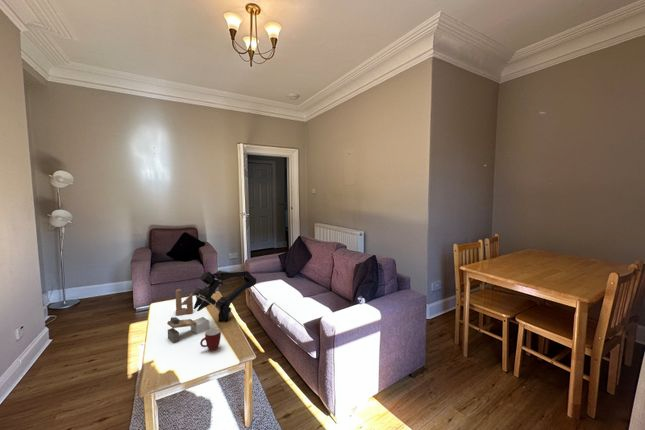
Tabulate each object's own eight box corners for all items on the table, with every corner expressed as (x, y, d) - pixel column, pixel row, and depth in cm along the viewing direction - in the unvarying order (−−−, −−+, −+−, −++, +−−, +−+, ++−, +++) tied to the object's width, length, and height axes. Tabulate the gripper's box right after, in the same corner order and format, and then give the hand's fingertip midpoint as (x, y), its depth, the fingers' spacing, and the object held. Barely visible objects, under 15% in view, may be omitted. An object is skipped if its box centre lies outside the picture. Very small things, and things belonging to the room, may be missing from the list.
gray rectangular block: (203, 325, 176) (202, 316, 176) (209, 328, 171) (209, 320, 171) (167, 338, 160) (167, 329, 159) (173, 343, 155) (173, 334, 154)
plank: (190, 321, 169) (191, 314, 170) (196, 325, 164) (197, 318, 165) (167, 323, 159) (168, 316, 159) (172, 328, 154) (174, 321, 154)
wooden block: (192, 313, 192) (191, 289, 191) (175, 315, 189) (174, 291, 187) (193, 311, 196) (192, 287, 194) (176, 313, 192) (175, 289, 191)
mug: (202, 356, 142) (202, 338, 142) (199, 349, 149) (198, 332, 148) (223, 349, 149) (222, 332, 148) (218, 343, 155) (218, 326, 154)
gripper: (196, 278, 176) (179, 300, 169) (210, 285, 165) (193, 308, 157) (208, 287, 183) (192, 308, 175) (222, 293, 171) (206, 316, 164)
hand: (195, 310), depth 168 cm, fingers open, 4 cm apart
